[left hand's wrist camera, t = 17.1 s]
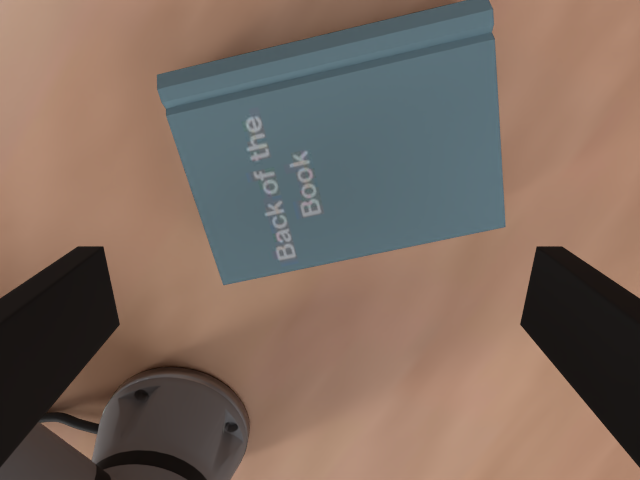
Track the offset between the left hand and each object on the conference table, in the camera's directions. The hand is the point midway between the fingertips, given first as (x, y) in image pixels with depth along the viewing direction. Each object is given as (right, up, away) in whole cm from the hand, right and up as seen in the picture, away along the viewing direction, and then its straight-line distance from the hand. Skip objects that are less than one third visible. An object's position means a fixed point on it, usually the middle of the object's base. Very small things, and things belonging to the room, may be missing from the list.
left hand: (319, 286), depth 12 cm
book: (+2, +9, +21) cm, 23 cm away
